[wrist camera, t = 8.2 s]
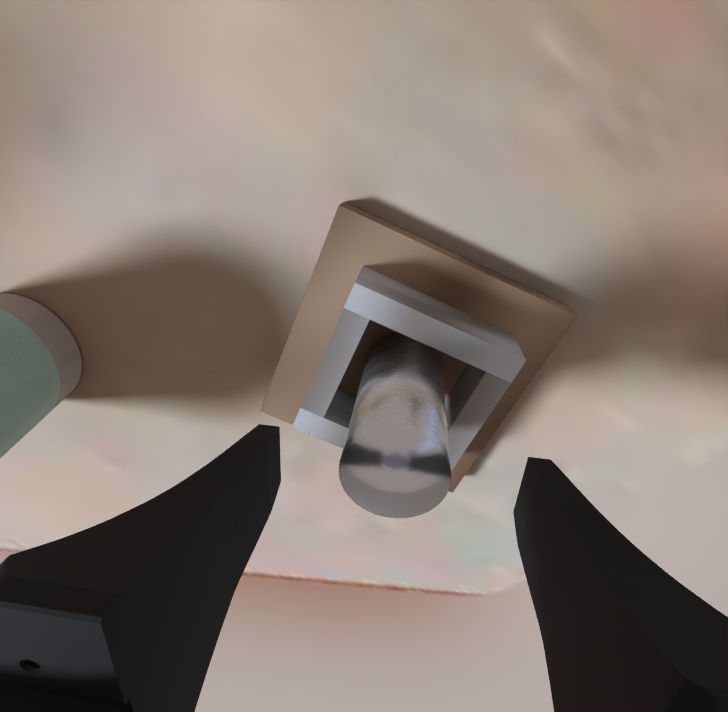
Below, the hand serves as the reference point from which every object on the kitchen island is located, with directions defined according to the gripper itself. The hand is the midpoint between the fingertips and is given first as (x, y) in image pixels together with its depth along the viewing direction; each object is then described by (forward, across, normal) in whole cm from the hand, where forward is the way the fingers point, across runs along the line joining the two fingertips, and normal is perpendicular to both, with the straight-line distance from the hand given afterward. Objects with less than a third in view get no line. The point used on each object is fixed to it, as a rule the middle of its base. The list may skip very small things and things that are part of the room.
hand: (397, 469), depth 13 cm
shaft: (+7, 0, 0) cm, 7 cm away
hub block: (+8, 0, 0) cm, 8 cm away
